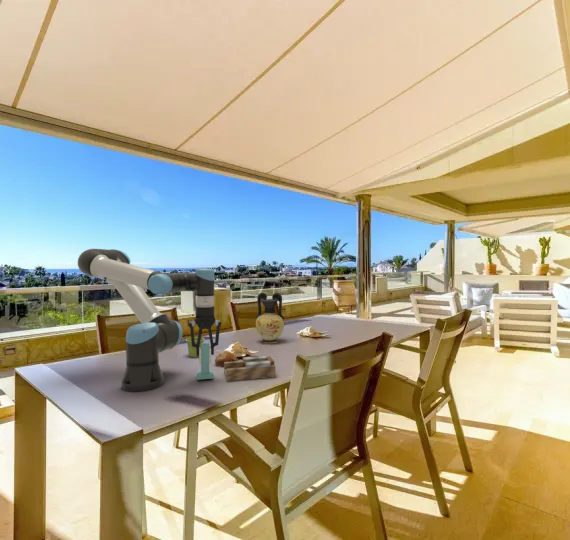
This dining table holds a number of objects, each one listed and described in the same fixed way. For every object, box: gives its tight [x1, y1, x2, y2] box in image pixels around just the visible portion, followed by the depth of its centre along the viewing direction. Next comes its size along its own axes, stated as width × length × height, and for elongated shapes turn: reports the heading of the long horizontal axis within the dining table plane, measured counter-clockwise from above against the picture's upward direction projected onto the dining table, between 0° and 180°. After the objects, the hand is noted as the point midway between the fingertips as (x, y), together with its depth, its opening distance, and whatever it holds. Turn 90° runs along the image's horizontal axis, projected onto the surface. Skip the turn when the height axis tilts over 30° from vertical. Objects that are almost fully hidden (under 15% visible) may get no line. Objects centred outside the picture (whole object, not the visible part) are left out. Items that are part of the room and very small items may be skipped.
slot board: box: [223, 355, 276, 382], centre depth 147 cm, size 20×12×6 cm, turn 105°
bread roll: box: [214, 350, 239, 368], centre depth 164 cm, size 10×10×8 cm
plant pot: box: [185, 336, 205, 358], centre depth 180 cm, size 9×9×9 cm
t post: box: [196, 342, 214, 381], centre depth 143 cm, size 6×6×14 cm
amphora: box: [255, 292, 285, 344], centre depth 211 cm, size 18×17×30 cm
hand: (205, 362), depth 143 cm, fingers closed on t post, 3 cm apart
